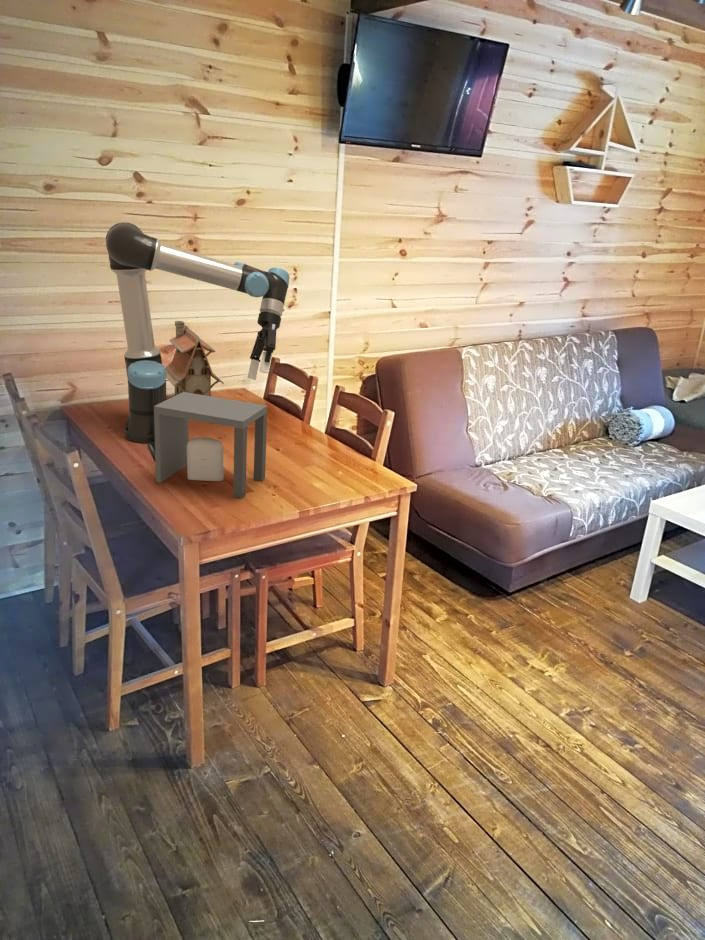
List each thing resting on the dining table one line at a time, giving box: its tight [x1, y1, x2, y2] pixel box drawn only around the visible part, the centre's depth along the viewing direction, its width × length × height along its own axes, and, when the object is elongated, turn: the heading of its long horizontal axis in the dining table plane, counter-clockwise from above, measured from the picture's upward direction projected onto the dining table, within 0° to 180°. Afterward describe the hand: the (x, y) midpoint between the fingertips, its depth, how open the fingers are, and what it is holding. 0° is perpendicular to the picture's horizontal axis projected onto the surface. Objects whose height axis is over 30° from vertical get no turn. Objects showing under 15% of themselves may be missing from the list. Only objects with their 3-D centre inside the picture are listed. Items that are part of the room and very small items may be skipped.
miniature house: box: [164, 320, 224, 397], centre depth 259 cm, size 18×24×30 cm
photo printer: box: [186, 436, 224, 482], centre depth 203 cm, size 10×4×12 cm, turn 91°
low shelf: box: [154, 392, 268, 499], centre depth 201 cm, size 26×16×22 cm, turn 74°
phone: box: [147, 442, 155, 462], centre depth 222 cm, size 8×1×15 cm
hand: (257, 375), depth 238 cm, fingers open, 13 cm apart
